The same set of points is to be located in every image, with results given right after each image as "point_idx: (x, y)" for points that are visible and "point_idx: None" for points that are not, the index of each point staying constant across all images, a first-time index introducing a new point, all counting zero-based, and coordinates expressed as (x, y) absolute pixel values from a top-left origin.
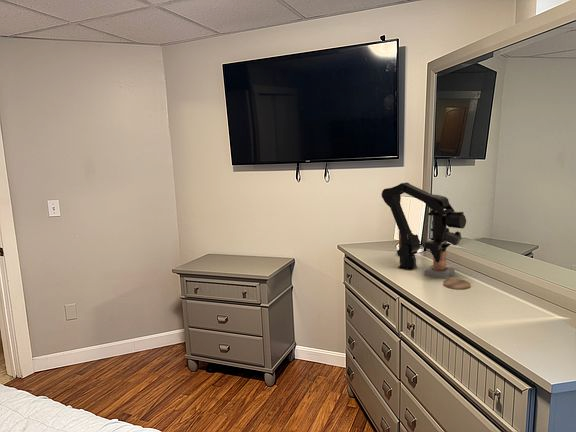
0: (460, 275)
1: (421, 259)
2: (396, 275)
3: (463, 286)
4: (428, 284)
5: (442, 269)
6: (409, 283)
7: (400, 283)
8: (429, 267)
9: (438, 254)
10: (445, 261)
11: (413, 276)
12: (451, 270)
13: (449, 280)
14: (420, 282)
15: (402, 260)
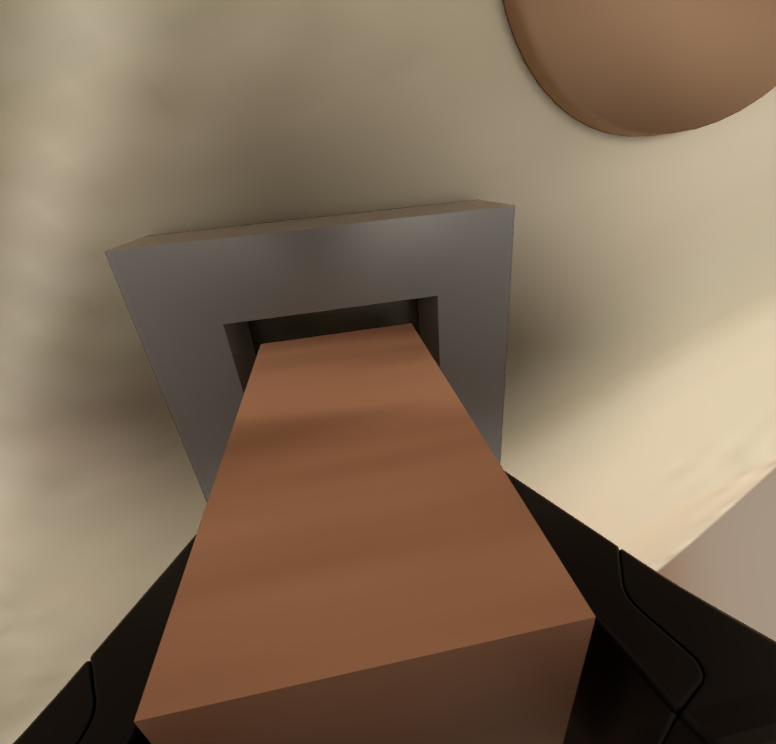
0: (168, 97)
1: (20, 718)
2: None
3: None
4: (745, 264)
5: (410, 331)
6: (755, 407)
7: (771, 452)
8: None
9: (671, 599)
10: (275, 406)
11: (555, 489)
12: (272, 230)
13: (643, 61)
14: (703, 357)
15: None
